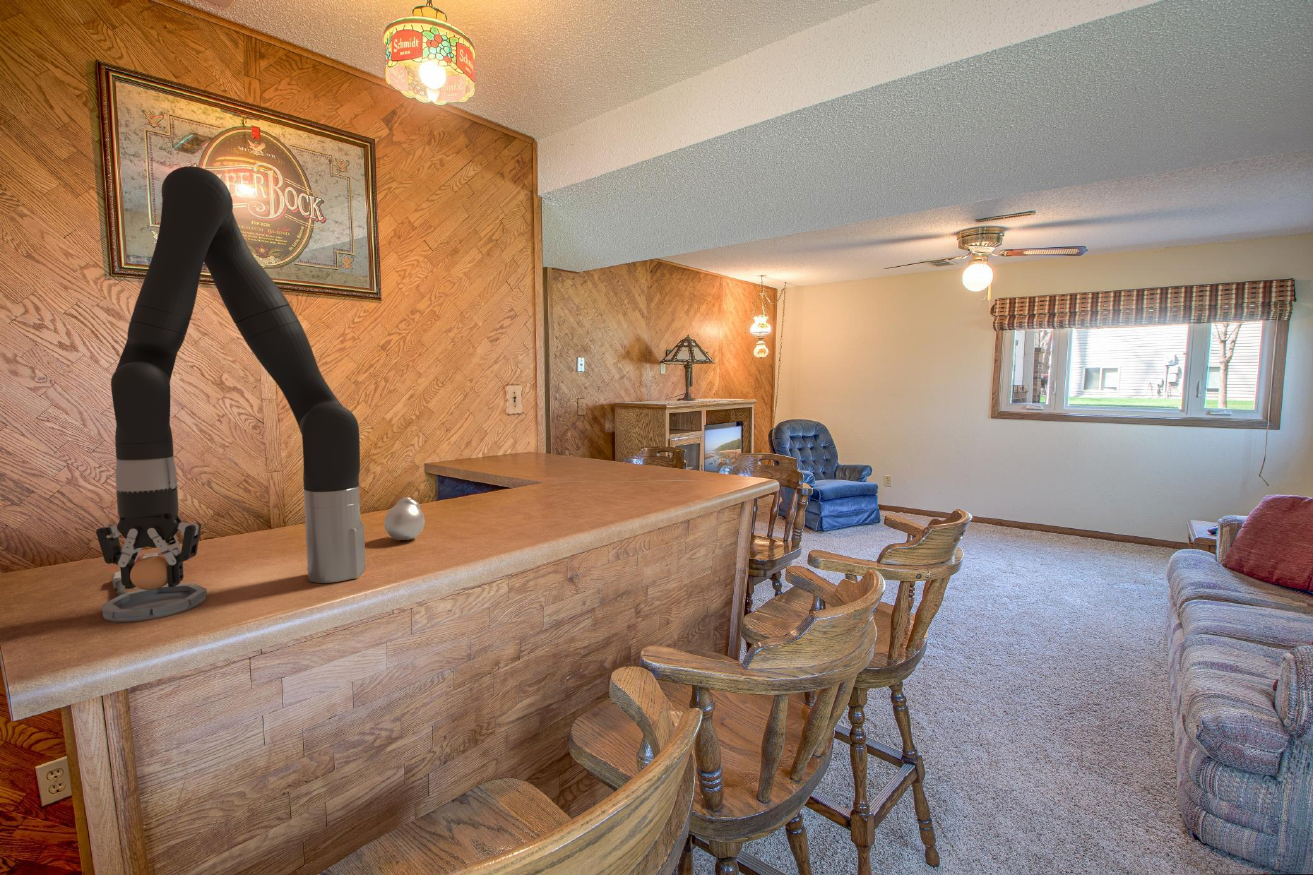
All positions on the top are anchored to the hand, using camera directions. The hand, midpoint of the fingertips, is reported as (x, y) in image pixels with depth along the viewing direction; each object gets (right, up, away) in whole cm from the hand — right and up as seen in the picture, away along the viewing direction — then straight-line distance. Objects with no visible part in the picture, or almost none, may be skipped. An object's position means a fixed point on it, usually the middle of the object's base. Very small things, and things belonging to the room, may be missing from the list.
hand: (153, 586), depth 97 cm
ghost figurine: (+24, 0, +42) cm, 48 cm away
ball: (0, +2, 0) cm, 2 cm away
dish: (0, -3, 0) cm, 3 cm away
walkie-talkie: (-12, -3, +13) cm, 18 cm away
